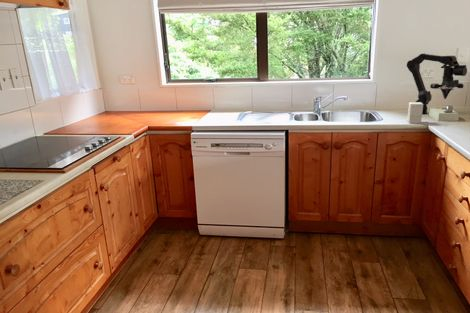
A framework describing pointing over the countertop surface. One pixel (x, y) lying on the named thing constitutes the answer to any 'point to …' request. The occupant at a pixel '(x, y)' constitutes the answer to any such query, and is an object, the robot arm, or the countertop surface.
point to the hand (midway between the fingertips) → (444, 98)
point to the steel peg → (449, 109)
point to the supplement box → (415, 112)
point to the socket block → (443, 115)
